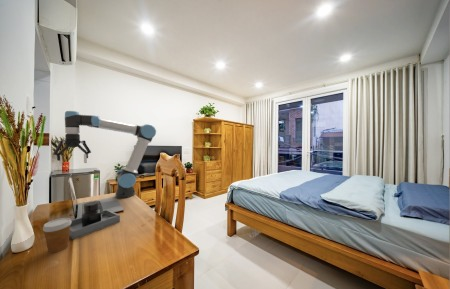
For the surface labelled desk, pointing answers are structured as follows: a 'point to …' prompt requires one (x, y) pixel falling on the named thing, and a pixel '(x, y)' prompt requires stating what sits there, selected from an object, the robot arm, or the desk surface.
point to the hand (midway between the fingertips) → (73, 164)
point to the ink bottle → (91, 213)
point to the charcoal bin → (79, 231)
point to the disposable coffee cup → (57, 234)
